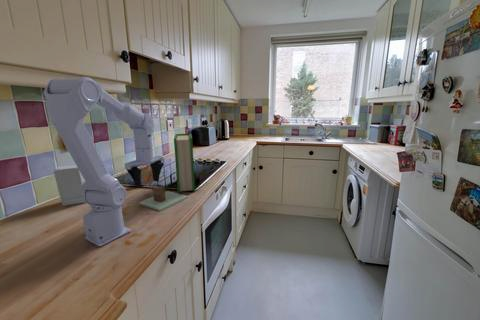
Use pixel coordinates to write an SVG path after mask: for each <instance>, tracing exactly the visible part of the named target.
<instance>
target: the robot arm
mask: <svg viewBox="0 0 480 320" xmlns="http://www.w3.org/2000/svg"><path fill="white" fill-rule="evenodd" d="M43 95H44V96H45V98H46V100H47V102H48V106H49V114H50V119H51V120H50V121H51V122H52V125H53V127H55V131H56V132H57V133H58V135H59V137H60V138H61V141H62V142H63V144H64V146H65V147H66V149H67V151H68V153H69V154H70V156H71V158H72V159H73V162H74V163H75V165H77V167H78V169H79V171H80V172H81V174H82V176H83V178H84V179H85V182H84V183H83V184H82V186H81V189H82V191H83V197H84V201H85V202H86V204H87V205H89V208H90V209H91V210H90V211H88V212H87V213H84V214H83V216H82V223H83V227H84V234H85V237H84V238H85V240H87V241H89V242H90V243H92V244H94V245H96V246H97V247H102V246H104V245H106V244H108V243H110V242H112V241H114V240H117V239H118V238H120V237H122V236H124V235H126V234H128V233H131V231H132V230H131V229H130V228H128V227H126V226H125V223H124V216H123V209H122V208H123V207H122V206H123V205H124V202H125V200H126V197H127V191H126V190H127V189H126V188H125V186H123V185H122V184H121V183H120V181H119V180H118V179H117V178H116V177H114V176H113V175H111V174H109V173H108V170H107V168H106V167H105V165H104V163H103V161H102V158H101V156H100V154H99V152H98V151H97V148H96V146H95V144H94V142H93V140H92V138H91V136H90V134H89V132H88V129H87V127H86V126H85V124H84V119H85V117H87V116H88V115H89V113H90V112H91V111H92V109H93V108H95V106H96V105H97V106H100V107H102V108H103V109H106V110H109V111H111V112H113V115H114V117H115V118H116V119H118V120H120V121H121V122H124V123H125V124H127V125H128V127H129V129H131V130H132V131H133V141H134V149H135V150H134V151H135V159H134V160H132V161H129V162H125V163H124V168H125V170H126V171H127V173H128V174H129V175H130V177H131V178H132V180H133V183H134V185H135V188H139V189H140V188H141V187H142V186H141V169H140V167H144V166H146V165H150V166H151V169H152V173H153V182H156V183H157V182H159V180H160V175H161V172H162V169H163V167H164V156H163V155H158V156H154V152H153V151H154V150H153V149H154V148H153V138H152V135H153V132H154V131H153V130H154V129H153V128H154V125H155V120H154V119H153V117H152V115H150V113H146V112H145V113H143V112H142V111H141V110H140V109H138V108H136V107H135V106H133V105H132V103H131V102H130V101H122V102H121V101H119V100H118V99H117V98H115V97H113V96H112V94H110V93H108V92H107V91H105V90H104V89H103V88H102V85H101V83H99V82H96V81H95V80H94V79H92V78H90V77H87V76H84V77H74V78H73V77H71V78H57V77H55V78H52V79H51V80H49V81H48V83H47V84H46V86H45V89H44V91H43Z"/></svg>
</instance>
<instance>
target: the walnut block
mask: <svg viewBox="0 0 480 320" xmlns="http://www.w3.org/2000/svg"><path fill="white" fill-rule="evenodd" d="M165 192H166V188H165V185H163V184H158V183H157V184H155V185H152V194H153V195H152V197H154V201H157V202H163V201H165V200H166V197H165Z"/></svg>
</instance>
